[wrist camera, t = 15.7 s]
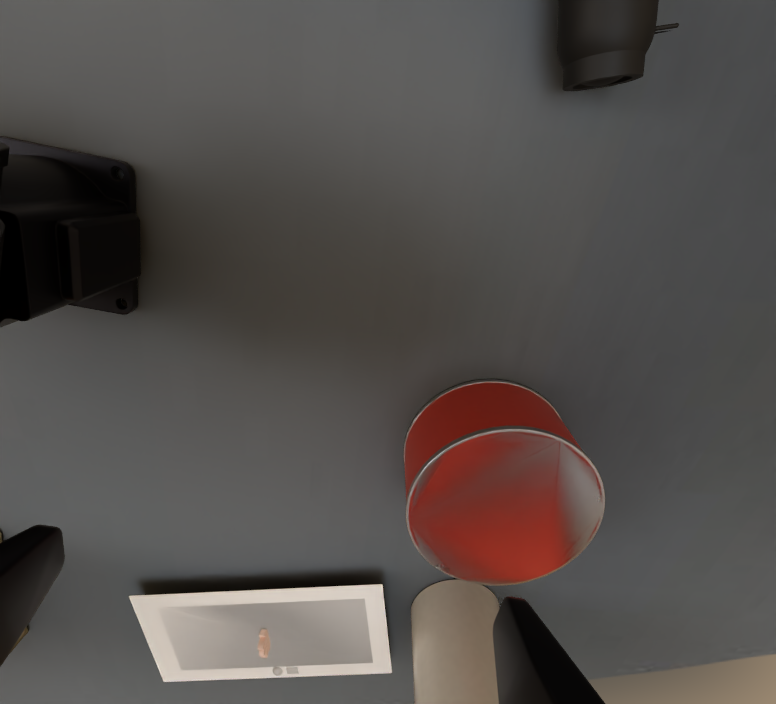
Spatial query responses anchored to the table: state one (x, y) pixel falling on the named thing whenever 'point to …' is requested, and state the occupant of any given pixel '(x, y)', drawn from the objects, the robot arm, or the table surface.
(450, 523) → the sauce tin
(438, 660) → the pepper mill
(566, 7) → the door handle
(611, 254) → the table surface
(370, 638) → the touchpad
